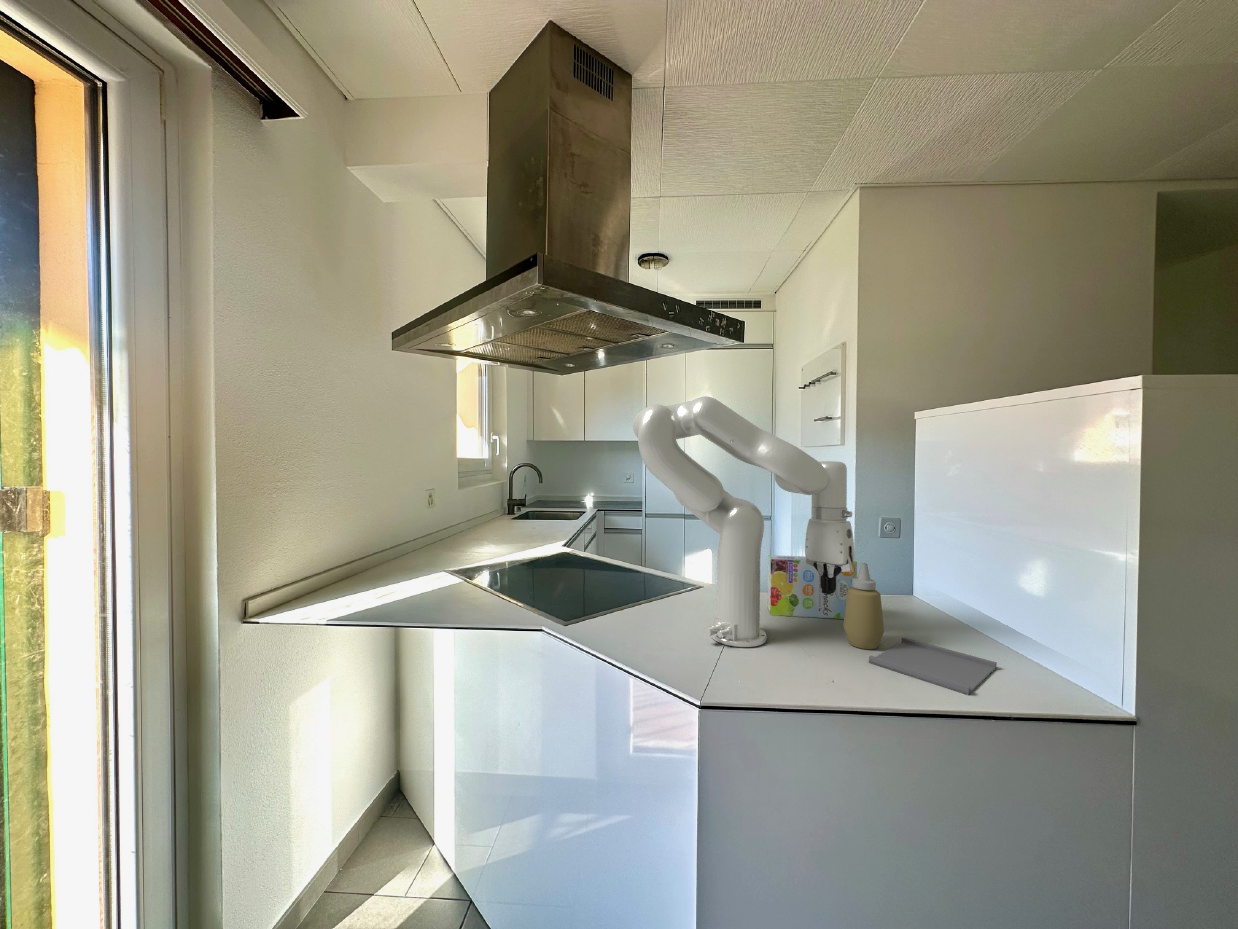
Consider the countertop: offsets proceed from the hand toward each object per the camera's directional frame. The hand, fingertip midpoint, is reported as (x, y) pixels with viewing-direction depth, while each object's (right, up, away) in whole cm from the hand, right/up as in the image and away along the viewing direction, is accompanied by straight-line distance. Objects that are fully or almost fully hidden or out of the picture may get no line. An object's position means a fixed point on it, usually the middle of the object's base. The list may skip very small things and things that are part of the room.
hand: (828, 592), depth 114 cm
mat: (+14, -10, -17) cm, 24 cm away
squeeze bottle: (+5, -10, -6) cm, 13 cm away
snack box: (+1, -10, +14) cm, 17 cm away
